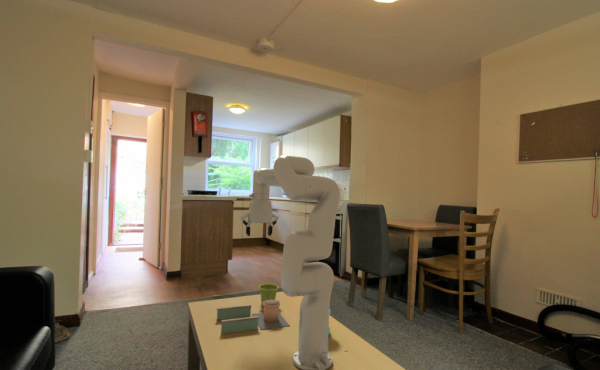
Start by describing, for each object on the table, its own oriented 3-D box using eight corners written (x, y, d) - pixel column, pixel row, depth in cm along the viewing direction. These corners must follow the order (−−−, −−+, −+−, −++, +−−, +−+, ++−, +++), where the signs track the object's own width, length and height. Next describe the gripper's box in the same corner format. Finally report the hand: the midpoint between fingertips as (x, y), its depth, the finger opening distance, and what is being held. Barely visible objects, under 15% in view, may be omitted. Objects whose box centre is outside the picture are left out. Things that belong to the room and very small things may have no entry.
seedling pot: (281, 321, 130) (282, 304, 130) (265, 323, 127) (265, 306, 127) (276, 315, 136) (277, 298, 136) (260, 317, 134) (261, 300, 134)
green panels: (258, 329, 122) (258, 317, 122) (221, 333, 117) (221, 321, 117) (250, 315, 136) (250, 304, 136) (216, 318, 130) (216, 307, 130)
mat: (289, 326, 126) (289, 325, 126) (260, 329, 122) (260, 329, 122) (277, 311, 141) (277, 311, 141) (251, 314, 137) (251, 313, 137)
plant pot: (279, 302, 153) (280, 284, 153) (275, 309, 144) (276, 290, 144) (260, 300, 154) (261, 283, 154) (256, 307, 144) (256, 289, 145)
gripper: (243, 196, 133) (241, 237, 132) (281, 198, 139) (280, 236, 139) (239, 196, 140) (238, 234, 139) (276, 197, 146) (275, 234, 146)
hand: (259, 235), depth 139 cm, fingers open, 9 cm apart
